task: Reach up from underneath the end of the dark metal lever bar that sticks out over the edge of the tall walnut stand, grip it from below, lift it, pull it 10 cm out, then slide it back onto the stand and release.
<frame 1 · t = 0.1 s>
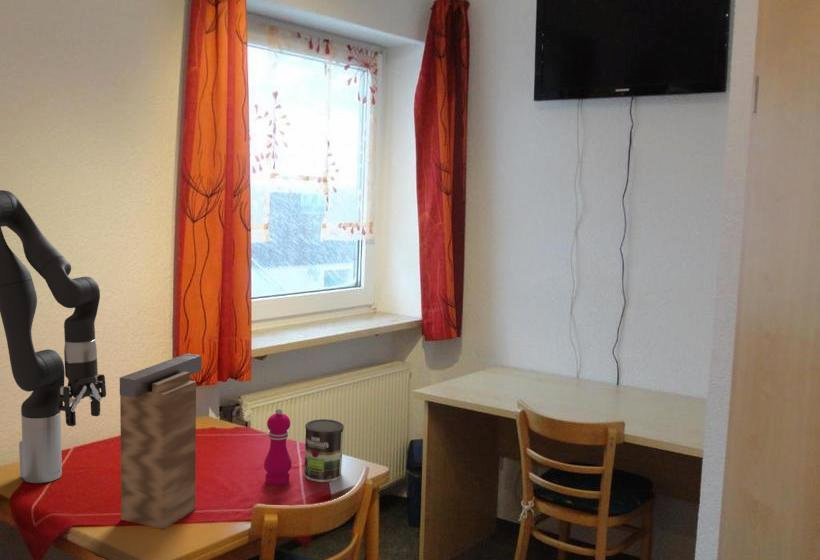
hand: (83, 420, 207), 17 cm above the table, tool pointing down, fingers open, 8 cm apart
lever bar: (162, 382, 192), point 32 cm above the table, touching walnut stand
walnut stand: (158, 514, 196), on the table
pepper mill: (277, 481, 218), on the table
coffee can: (322, 475, 224), on the table
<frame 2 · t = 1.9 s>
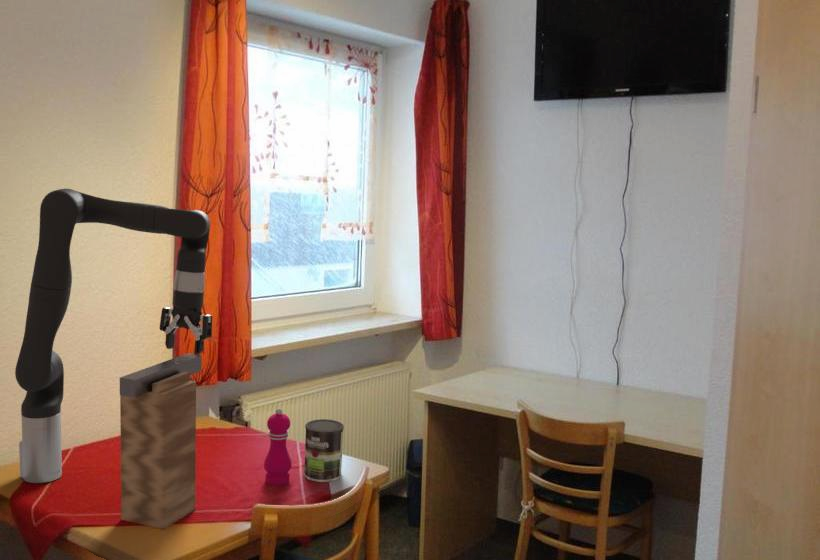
hand: (183, 351, 210), 35 cm above the table, tool pointing down, fingers open, 8 cm apart
nothing on the table moved.
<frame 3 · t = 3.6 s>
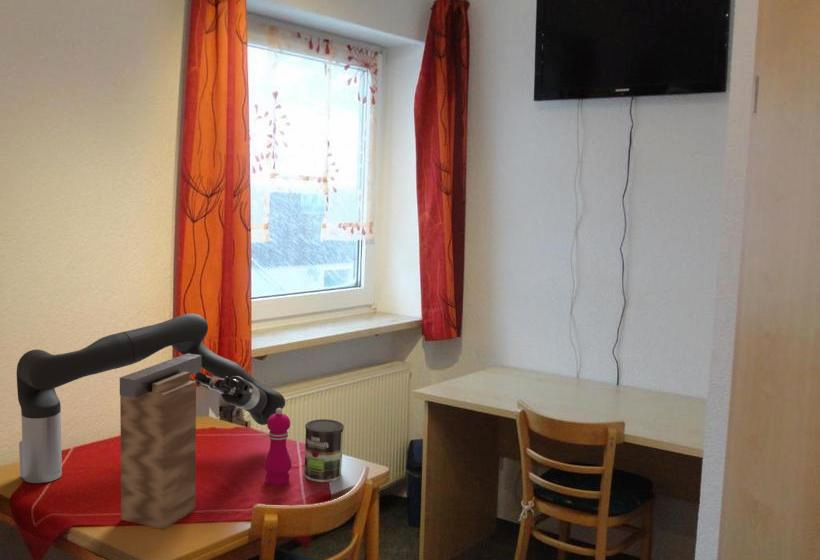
hand: (211, 377, 211), 28 cm above the table, tool pointing upward, fingers open, 8 cm apart
nothing on the table moved.
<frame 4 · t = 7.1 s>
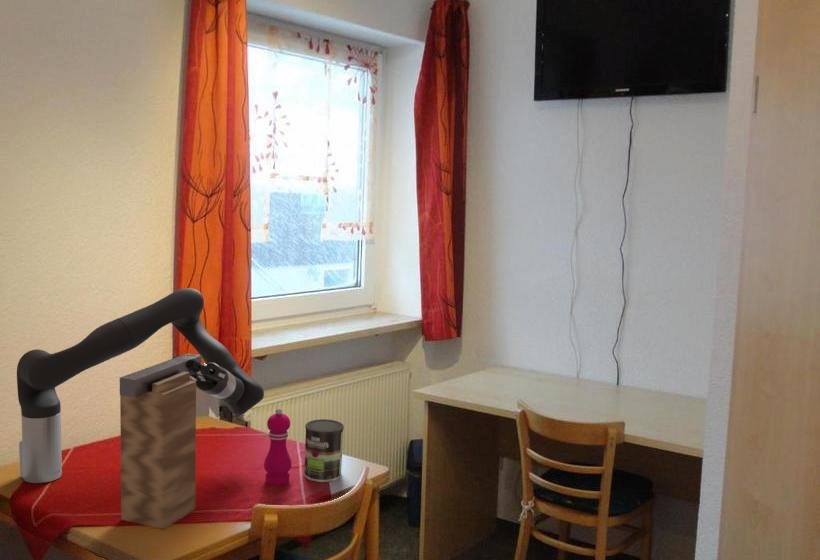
hand: (181, 361, 198), 35 cm above the table, tool pointing upward, fingers closed on lever bar, 4 cm apart
lever bar: (162, 382, 192), point 32 cm above the table, touching gripper, walnut stand
everything else where it was.
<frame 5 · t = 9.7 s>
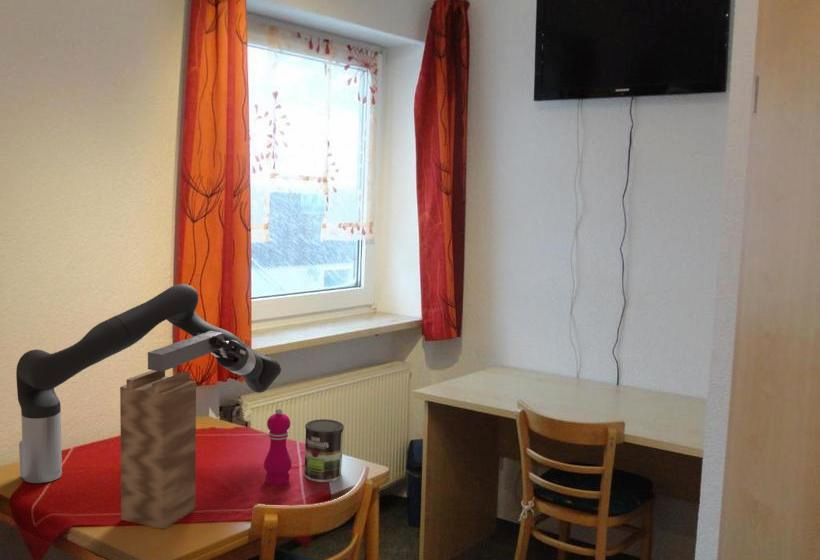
hand: (204, 338, 206), 39 cm above the table, tool pointing upward, fingers closed on lever bar, 4 cm apart
lever bar: (187, 358, 200), point 36 cm above the table, touching gripper
everything else where it was.
when the fingers open (36 cm above the table, at t = 12.6 s): lever bar stays where it is, resting on walnut stand.
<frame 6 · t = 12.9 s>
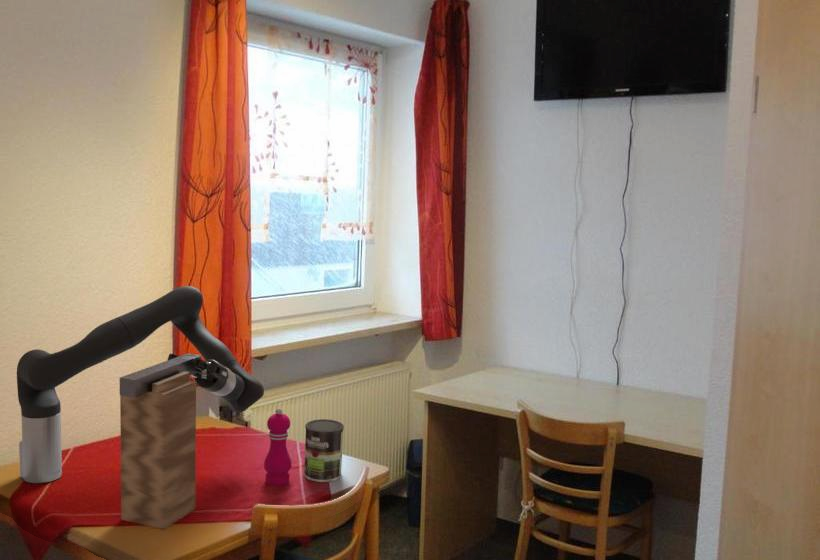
hand: (182, 359, 198), 36 cm above the table, tool pointing upward, fingers open, 6 cm apart
lever bar: (162, 382, 192), point 32 cm above the table, touching walnut stand
everything else where it was.
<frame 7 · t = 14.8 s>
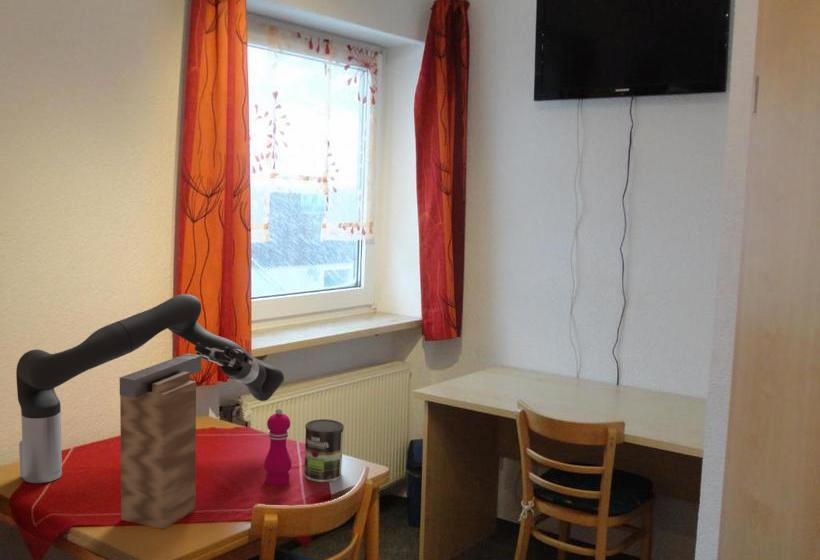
hand: (211, 348, 210), 36 cm above the table, tool pointing upward, fingers open, 8 cm apart
nothing on the table moved.
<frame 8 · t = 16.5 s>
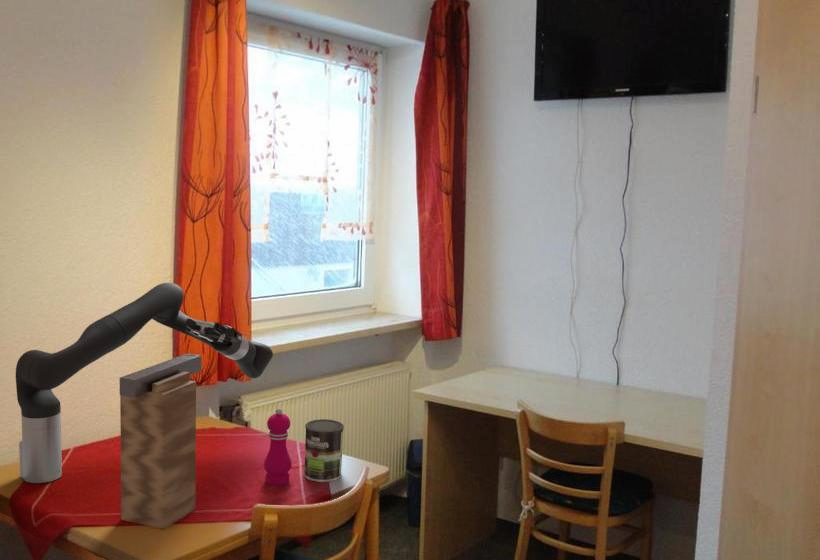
hand: (201, 323, 215), 41 cm above the table, tool pointing upward, fingers open, 8 cm apart
nothing on the table moved.
at the end: lever bar inside the target area (0.0 cm from its centre), point 32.0 cm above the table; the gripper is holding nothing; lever bar tilted 0° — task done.
